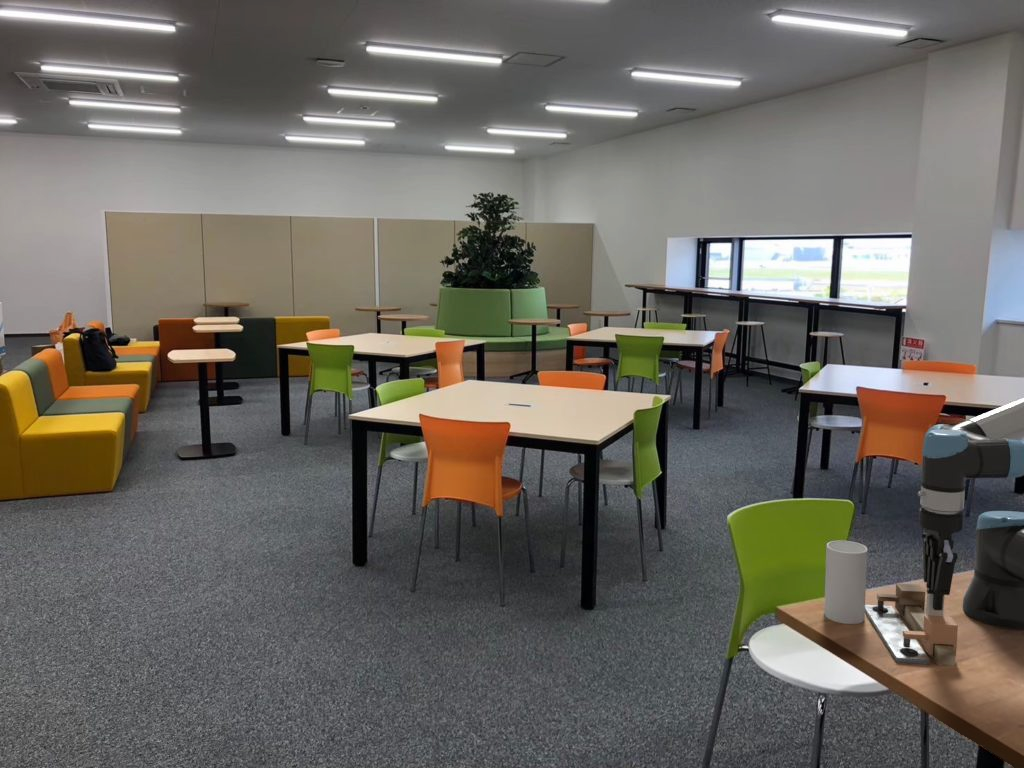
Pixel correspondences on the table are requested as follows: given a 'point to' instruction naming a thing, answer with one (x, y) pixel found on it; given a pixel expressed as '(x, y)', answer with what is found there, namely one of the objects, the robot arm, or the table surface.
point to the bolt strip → (895, 635)
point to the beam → (915, 619)
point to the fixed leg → (904, 597)
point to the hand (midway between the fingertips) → (934, 622)
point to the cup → (845, 582)
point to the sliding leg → (934, 633)
